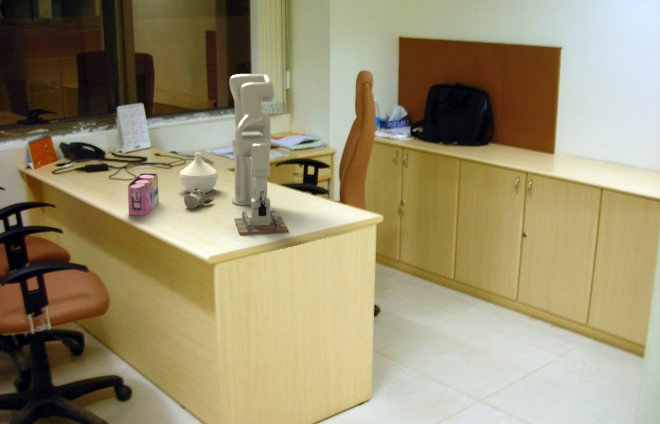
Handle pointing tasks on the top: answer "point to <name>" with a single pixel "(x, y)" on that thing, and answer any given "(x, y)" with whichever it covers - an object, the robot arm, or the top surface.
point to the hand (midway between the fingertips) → (260, 212)
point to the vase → (198, 175)
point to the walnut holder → (247, 229)
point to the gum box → (143, 194)
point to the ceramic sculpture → (196, 199)
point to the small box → (255, 217)
